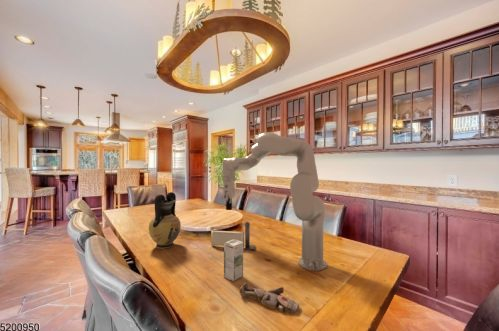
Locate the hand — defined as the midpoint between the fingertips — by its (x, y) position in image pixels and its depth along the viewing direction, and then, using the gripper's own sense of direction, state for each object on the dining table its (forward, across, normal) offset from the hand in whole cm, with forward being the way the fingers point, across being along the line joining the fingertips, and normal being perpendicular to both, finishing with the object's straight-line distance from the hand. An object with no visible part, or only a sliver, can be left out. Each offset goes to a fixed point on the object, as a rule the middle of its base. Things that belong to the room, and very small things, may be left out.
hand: (229, 209), depth 135 cm
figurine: (+20, -54, -29) cm, 64 cm away
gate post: (+19, -9, -14) cm, 25 cm away
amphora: (+19, -13, +34) cm, 41 cm away
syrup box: (+19, -40, -13) cm, 46 cm away
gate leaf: (+19, -9, -2) cm, 21 cm away
